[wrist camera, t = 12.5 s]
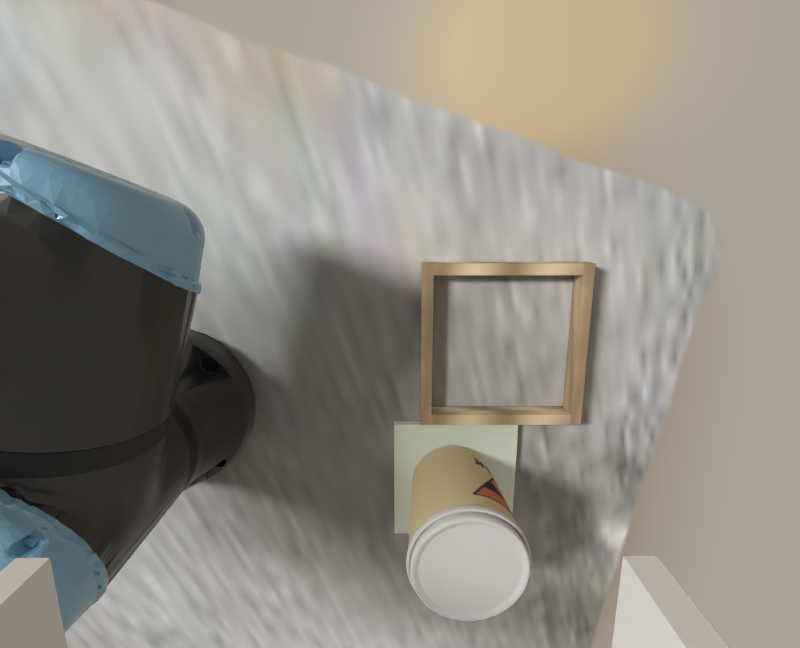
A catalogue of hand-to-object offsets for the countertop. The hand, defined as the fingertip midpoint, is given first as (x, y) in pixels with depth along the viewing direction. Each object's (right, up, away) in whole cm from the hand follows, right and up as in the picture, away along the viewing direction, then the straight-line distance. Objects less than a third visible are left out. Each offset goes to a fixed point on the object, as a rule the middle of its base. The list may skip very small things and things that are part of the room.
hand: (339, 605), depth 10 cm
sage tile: (+7, -9, +34) cm, 36 cm away
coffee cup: (+7, -9, +34) cm, 36 cm away
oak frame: (+11, +5, +31) cm, 34 cm away
